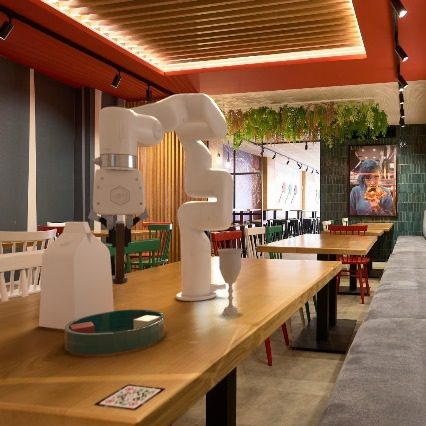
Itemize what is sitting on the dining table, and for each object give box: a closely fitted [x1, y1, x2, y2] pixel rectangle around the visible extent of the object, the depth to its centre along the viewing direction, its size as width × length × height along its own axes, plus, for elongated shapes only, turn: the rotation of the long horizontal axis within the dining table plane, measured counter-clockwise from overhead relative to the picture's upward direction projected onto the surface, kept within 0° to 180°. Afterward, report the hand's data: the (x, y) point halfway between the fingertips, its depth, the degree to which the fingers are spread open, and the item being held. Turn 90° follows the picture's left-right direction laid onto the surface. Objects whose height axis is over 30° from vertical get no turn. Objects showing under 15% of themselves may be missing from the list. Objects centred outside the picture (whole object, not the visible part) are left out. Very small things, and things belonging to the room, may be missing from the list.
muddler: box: [112, 220, 129, 285], centre depth 89 cm, size 3×3×14 cm
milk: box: [38, 221, 115, 330], centre depth 101 cm, size 12×12×26 cm
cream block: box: [134, 315, 161, 329], centre depth 90 cm, size 4×4×4 cm
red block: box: [70, 322, 94, 333], centre depth 84 cm, size 4×4×4 cm
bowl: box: [63, 308, 166, 355], centre depth 88 cm, size 20×20×4 cm
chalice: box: [217, 248, 244, 317], centre depth 108 cm, size 7×7×18 cm
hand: (120, 246), depth 89 cm, fingers closed on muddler
